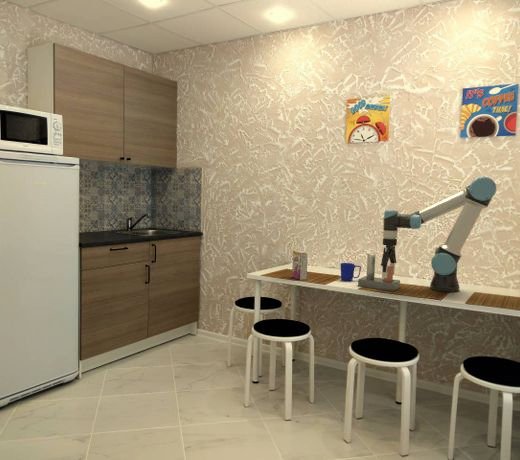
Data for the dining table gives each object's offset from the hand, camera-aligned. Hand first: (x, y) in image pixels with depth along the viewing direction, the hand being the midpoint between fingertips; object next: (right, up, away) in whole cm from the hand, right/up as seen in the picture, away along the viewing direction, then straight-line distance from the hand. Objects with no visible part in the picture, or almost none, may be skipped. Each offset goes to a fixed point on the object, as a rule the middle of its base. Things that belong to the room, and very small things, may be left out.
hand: (388, 276), depth 255 cm
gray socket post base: (-4, -6, +3) cm, 8 cm away
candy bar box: (-48, -4, +23) cm, 53 cm away
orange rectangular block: (0, -7, +1) cm, 6 cm away
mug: (-17, -5, +20) cm, 27 cm away
